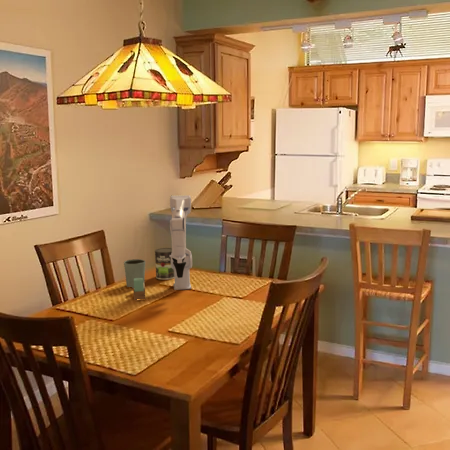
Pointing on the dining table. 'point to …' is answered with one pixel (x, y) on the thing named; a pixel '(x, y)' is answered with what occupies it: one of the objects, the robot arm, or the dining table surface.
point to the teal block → (138, 284)
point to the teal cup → (134, 271)
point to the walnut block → (139, 295)
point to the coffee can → (163, 264)
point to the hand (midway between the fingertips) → (179, 275)
